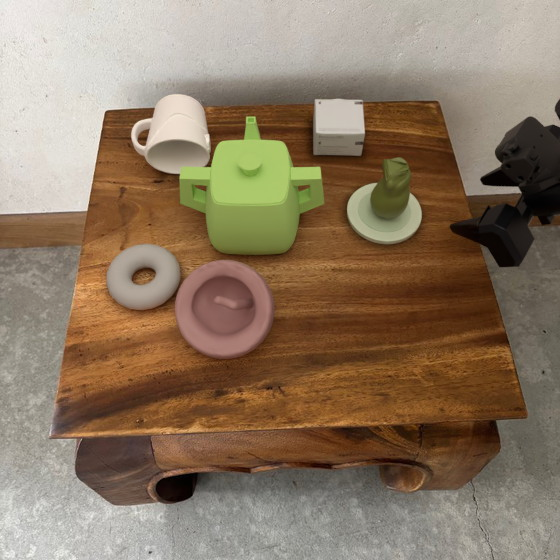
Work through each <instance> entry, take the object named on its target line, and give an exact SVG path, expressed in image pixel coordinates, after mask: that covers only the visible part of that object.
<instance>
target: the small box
mask: <svg viewBox="0 0 560 560" xmlns="http://www.w3.org/2000/svg"><path fill="white" fill-rule="evenodd" d="M313 101H314V102H313V103H314V104H313V106H314V107H313V117H312V118H313V119H312V123H313V124H312V125H313V126H312V136H313V137H312V144H313V146H312V150H313V152H312V153H313V156H354V157H361V156H362V154H363V148H364V143H365V137H366V129H365V128H366V127H365V126H366V125H365V112H364V111H365V109H364V100H363V99H344V98H333V99H332V98H331V99H329V98H327V99H326V98H325V99H323V98H321V99H320V98H315V99H314V100H313Z"/></svg>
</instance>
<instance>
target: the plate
mask: <svg viewBox="0 0 560 560" xmlns="http://www.w3.org/2000/svg"><path fill="white" fill-rule="evenodd" d="M377 183H378V182H372V183H368V184H364V185H363V186H361V187H359V188H358V189H357V190H356V191H354V192H353V193H352V194H351V196H350V198H349V199H348V201H347V205H346V218H347V222H348V223H349V225H350V227H351V229H352V230H353V231H354V232H355V233H356V234H357V235H359V236H360V237H361V238H362V239H365V240H367V241H368V242H372V243H375V244H378V245H394V244H395V245H396V244H399V243H402V242H405V241H407V240H409V239H410V238H412V237H413V236H414V235H415V234H416V232H417V231H418V229H419V228H420V225H421V222H422V218H423V211H422V208H421V205H420V203H419V201H418V199H417V198H416V197H415V196H414V195H413V194H412V193H411V192H410V196H409V202H408V205H407V207H406V209H405V211H404V212H403V213H402V214H401V215H399V216H397V217H395V218H390V219H387V218H382V217H380V216H378V215H377V214H375V212H374V211H373V210H372V207H371V204H370V196H371V193H372V191H373V189H374V187H375V186H376V185H377Z"/></svg>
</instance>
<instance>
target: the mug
mask: <svg viewBox="0 0 560 560" xmlns="http://www.w3.org/2000/svg"><path fill="white" fill-rule="evenodd" d="M207 123H208V122H207V118H206V111H205V109H204V107H203V105H202V104H201V103H200V102H199V101H198V100H197V99H195V98H193V97H192V96H189V95H187V94H181V93H174V94H173V93H172V94H169V95H165V96H164V97H162V98H161V99H159V101H158V102H157V103H156V104H155V106H154V110H153V114H152V117H151V118H145V119H141V120H139V121H136V122H135V124H134V125H133V126H132V128H131V133H130V137H131V141H132V146H133V148H134V150H135V151H136V153H137V154H138V155H141V156H142V157H144V159H145V161H146V162H147V163H148V165H150V166H151V167H152V168H154V169H155V170H158V171H159V172H163V173H166V174H172V175H180V172H181V167H207V165H208V163H209V162H210V159H211V154H210V153H212V146H211V143H212V142H211V136H210V134H209V129H208V124H207ZM147 130H149V131H148V135H147V138H146V142H145V145H141V144H140V143H139V142H138V141H139V135H140V134H141V133H142V132H144V131H147Z"/></svg>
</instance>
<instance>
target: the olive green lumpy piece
mask: <svg viewBox="0 0 560 560" xmlns="http://www.w3.org/2000/svg"><path fill="white" fill-rule="evenodd" d="M381 169H382V178H381V179H380V180H379V181H378V182H376V183H377V185H376V186H375V187H374V189H373V191H372V193H371V196H370V204H371V207H372V210H373V211H374V212H375V214H377V215H378V216H380V217H382V218H387V219H390V218H395V217H397V216H399V215H401V214H402V213H403V212H404V211H405V209H406V207H407V205H408V202H409V196H410V193H411V186H410V185H411V184H410V183H411V180H412V171H411V169H410V167H409V164H408V162H407V160H405V159H404V158H402V157H401V156H400V157H399V156H398V157H394V158H389V159H388V158H386V159H383V161H382V163H381Z"/></svg>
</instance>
